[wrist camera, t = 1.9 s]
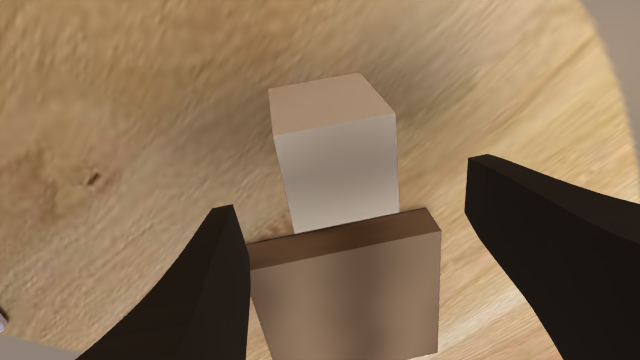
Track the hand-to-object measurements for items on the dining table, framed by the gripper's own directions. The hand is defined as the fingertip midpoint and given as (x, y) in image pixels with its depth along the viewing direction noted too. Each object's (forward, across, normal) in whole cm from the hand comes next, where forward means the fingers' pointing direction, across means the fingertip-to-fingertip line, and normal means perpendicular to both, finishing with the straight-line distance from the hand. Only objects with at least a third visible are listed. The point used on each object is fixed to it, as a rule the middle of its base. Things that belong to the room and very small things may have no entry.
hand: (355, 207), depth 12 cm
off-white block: (+7, 0, 0) cm, 7 cm away
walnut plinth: (+7, 0, +11) cm, 13 cm away
